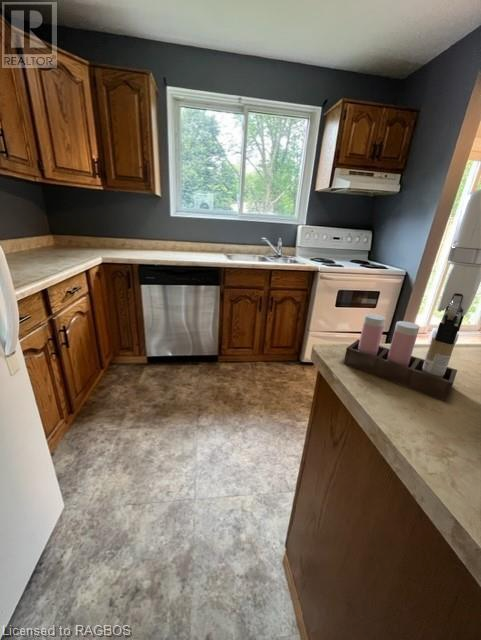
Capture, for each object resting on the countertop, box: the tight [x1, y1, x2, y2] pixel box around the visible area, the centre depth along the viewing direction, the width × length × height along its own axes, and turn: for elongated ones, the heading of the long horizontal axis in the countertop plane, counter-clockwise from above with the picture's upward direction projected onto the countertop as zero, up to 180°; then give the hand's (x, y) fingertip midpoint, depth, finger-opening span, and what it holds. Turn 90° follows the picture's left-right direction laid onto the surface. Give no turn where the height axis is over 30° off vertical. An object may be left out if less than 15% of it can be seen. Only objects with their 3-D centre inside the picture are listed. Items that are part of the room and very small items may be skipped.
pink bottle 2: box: [387, 320, 420, 367], centre depth 67 cm, size 5×5×13 cm
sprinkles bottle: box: [422, 327, 460, 378], centre depth 62 cm, size 5×5×13 cm
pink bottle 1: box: [358, 313, 387, 356], centre depth 71 cm, size 5×5×13 cm
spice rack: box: [343, 338, 458, 402], centre depth 68 cm, size 23×8×5 cm, turn 47°
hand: (447, 335), depth 60 cm, fingers open, 9 cm apart
